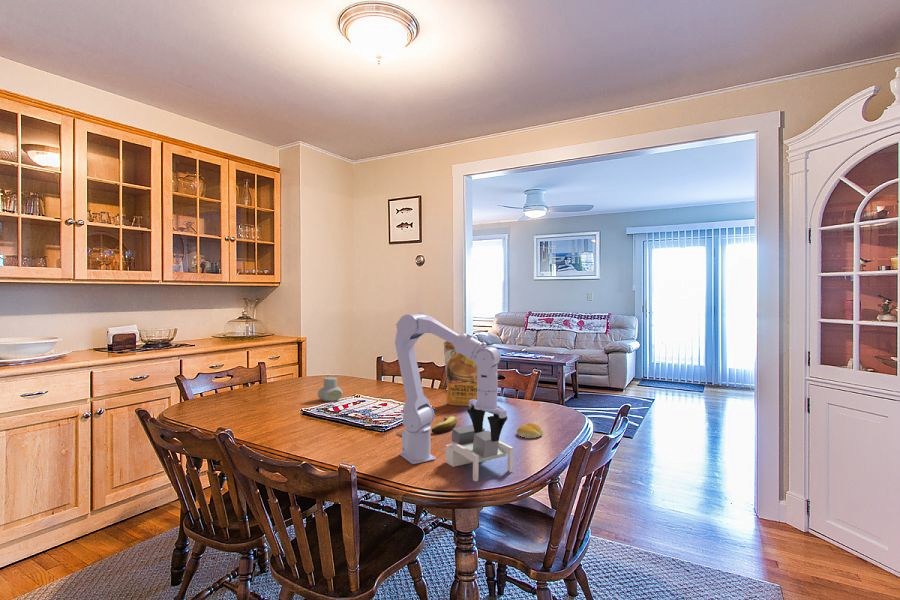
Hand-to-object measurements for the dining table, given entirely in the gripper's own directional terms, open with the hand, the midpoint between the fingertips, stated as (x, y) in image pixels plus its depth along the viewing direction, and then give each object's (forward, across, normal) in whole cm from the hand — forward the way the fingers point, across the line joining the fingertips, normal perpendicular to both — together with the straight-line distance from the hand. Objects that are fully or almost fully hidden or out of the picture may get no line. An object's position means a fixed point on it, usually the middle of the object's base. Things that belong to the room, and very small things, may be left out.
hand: (486, 437), depth 132 cm
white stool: (+10, -4, 0) cm, 11 cm away
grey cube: (+4, 0, 0) cm, 4 cm away
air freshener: (+10, -101, -9) cm, 102 cm away
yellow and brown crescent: (+11, -40, +13) cm, 43 cm away
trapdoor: (+5, -4, 0) cm, 7 cm away
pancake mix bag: (+10, -63, +38) cm, 74 cm away
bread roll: (+10, -17, +33) cm, 39 cm away
